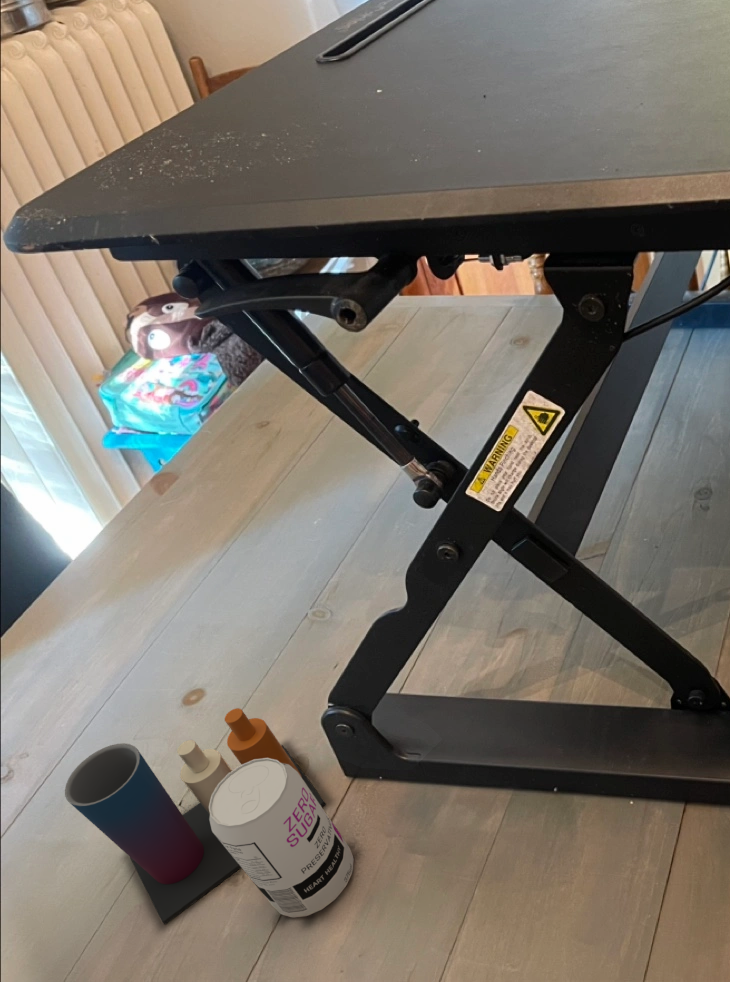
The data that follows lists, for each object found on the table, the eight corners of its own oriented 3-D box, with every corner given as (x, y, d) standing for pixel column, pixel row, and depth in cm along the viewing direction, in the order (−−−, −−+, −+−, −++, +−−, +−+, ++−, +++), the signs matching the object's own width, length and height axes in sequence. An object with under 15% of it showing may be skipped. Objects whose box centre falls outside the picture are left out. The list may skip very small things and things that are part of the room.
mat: (164, 924, 103) (162, 922, 103) (130, 856, 110) (127, 853, 110) (326, 804, 111) (324, 801, 111) (284, 747, 118) (282, 744, 118)
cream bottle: (229, 841, 109) (173, 771, 102) (215, 819, 111) (159, 749, 104) (265, 815, 111) (212, 745, 103) (250, 793, 113) (198, 723, 106)
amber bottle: (273, 809, 111) (221, 738, 104) (259, 787, 114) (207, 717, 106) (308, 784, 113) (259, 713, 106) (293, 763, 116) (244, 692, 108)
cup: (134, 897, 105) (51, 810, 96) (160, 835, 111) (84, 748, 102) (199, 888, 105) (121, 800, 96) (222, 827, 110) (151, 738, 101)
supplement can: (271, 864, 106) (202, 775, 97) (352, 830, 108) (291, 739, 99) (274, 935, 100) (200, 847, 91) (360, 897, 102) (295, 807, 93)
